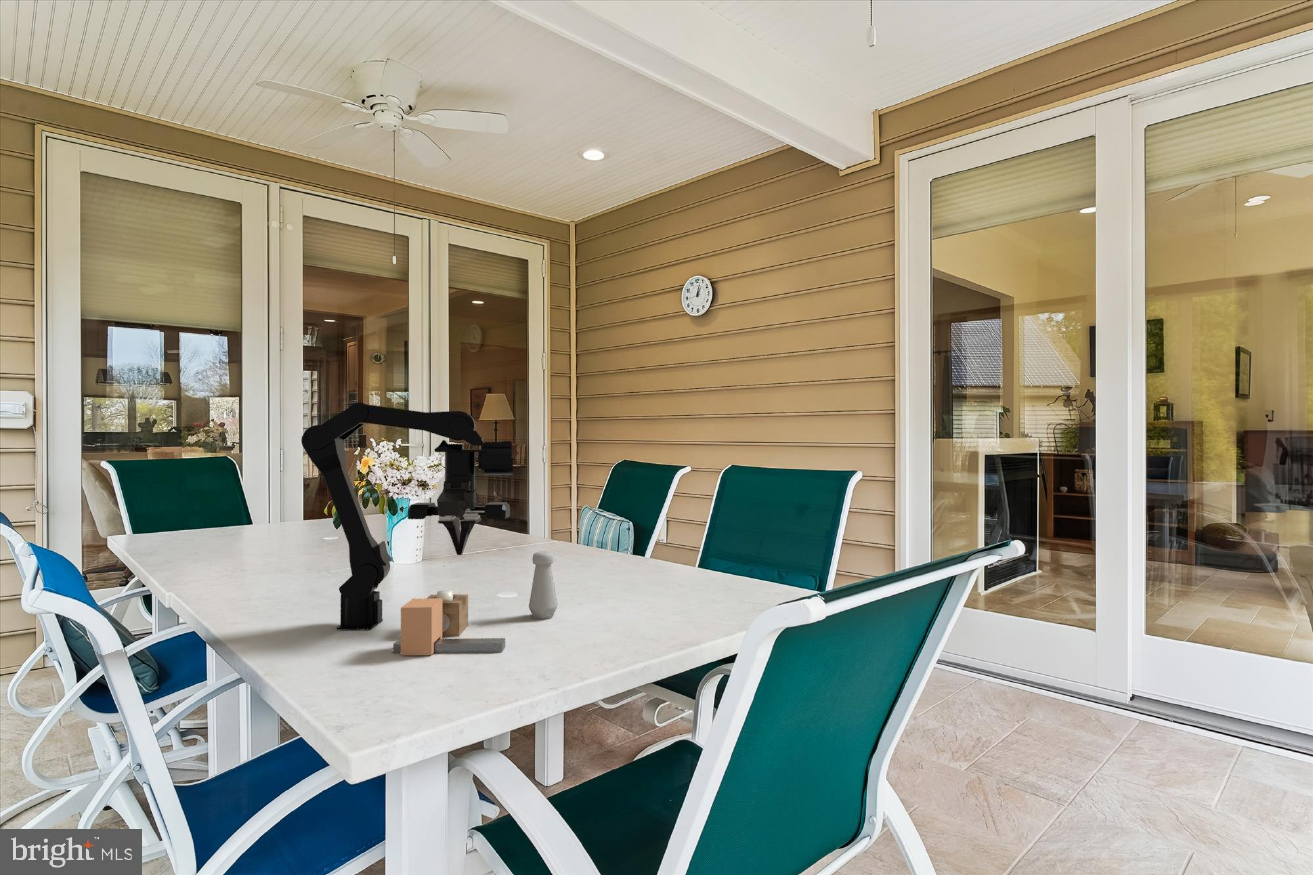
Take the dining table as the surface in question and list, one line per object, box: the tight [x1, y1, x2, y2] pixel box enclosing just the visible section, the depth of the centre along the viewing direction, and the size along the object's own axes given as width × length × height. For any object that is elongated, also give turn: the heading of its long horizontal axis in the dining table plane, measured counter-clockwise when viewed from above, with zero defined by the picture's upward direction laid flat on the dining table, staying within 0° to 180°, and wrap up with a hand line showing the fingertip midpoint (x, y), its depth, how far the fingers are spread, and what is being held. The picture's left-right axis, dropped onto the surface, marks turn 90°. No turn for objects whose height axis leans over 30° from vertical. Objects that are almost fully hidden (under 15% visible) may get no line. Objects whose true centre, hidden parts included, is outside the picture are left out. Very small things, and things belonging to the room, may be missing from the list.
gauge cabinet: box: [427, 593, 469, 637], centre depth 129 cm, size 7×7×6 cm
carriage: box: [400, 597, 443, 656], centre depth 117 cm, size 5×7×8 cm
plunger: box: [436, 589, 454, 601], centre depth 129 cm, size 3×3×3 cm
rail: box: [392, 637, 506, 654], centre depth 117 cm, size 18×3×2 cm, turn 92°
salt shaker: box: [528, 550, 559, 620], centre depth 140 cm, size 6×6×13 cm
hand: (459, 554), depth 136 cm, fingers closed
